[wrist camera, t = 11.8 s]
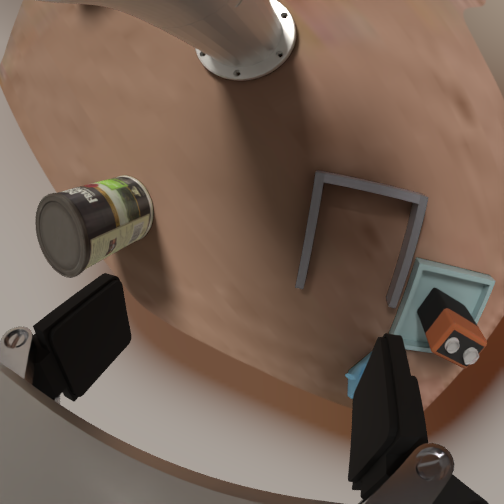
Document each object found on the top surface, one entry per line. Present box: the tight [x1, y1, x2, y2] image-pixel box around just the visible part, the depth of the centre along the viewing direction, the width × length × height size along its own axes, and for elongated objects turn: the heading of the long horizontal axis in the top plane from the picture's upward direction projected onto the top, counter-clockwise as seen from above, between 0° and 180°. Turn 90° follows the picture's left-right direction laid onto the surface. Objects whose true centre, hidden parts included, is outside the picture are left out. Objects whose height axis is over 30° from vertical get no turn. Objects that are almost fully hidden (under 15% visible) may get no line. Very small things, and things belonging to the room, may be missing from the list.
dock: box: [295, 170, 428, 308], centre depth 33 cm, size 14×13×2 cm
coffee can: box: [36, 176, 153, 278], centre depth 35 cm, size 10×10×14 cm
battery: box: [417, 288, 487, 368], centre depth 29 cm, size 4×7×10 cm, turn 67°
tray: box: [389, 257, 495, 353], centre depth 33 cm, size 12×12×2 cm
